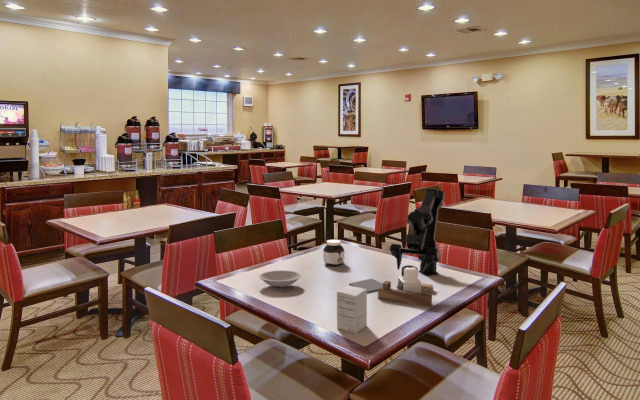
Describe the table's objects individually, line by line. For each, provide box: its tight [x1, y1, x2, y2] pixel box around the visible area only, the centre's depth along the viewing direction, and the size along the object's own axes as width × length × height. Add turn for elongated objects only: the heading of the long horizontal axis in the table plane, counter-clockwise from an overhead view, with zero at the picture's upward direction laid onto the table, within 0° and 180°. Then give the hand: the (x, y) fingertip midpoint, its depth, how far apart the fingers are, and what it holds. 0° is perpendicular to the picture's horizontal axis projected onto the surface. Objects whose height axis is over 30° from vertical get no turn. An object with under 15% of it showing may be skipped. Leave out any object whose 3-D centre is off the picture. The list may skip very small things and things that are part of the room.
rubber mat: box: [348, 278, 384, 294], centre depth 179 cm, size 12×12×1 cm
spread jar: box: [322, 239, 345, 267], centre depth 212 cm, size 12×11×12 cm
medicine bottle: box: [397, 264, 422, 294], centre depth 166 cm, size 7×7×12 cm
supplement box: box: [336, 284, 368, 334], centre depth 139 cm, size 7×7×13 cm
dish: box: [258, 270, 302, 288], centre depth 178 cm, size 18×14×5 cm
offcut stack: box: [396, 282, 434, 294], centre depth 175 cm, size 4×14×2 cm, turn 63°
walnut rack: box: [377, 280, 433, 308], centre depth 162 cm, size 4×20×6 cm, turn 63°
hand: (409, 270), depth 166 cm, fingers open, 9 cm apart
